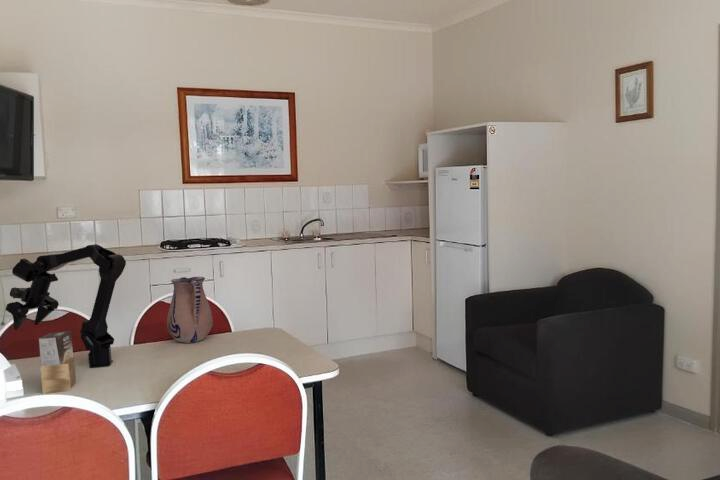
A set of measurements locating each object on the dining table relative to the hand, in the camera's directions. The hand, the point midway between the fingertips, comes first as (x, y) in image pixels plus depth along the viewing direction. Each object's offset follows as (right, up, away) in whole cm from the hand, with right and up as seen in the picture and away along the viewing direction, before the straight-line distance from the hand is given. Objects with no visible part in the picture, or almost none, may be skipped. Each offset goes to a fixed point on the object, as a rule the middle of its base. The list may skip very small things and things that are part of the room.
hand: (25, 327), depth 220 cm
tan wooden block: (+27, -14, -31) cm, 44 cm away
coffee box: (+26, -14, -28) cm, 41 cm away
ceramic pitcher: (+53, -9, +25) cm, 59 cm away
